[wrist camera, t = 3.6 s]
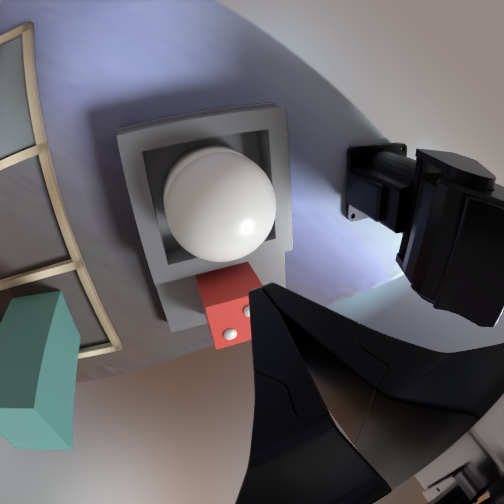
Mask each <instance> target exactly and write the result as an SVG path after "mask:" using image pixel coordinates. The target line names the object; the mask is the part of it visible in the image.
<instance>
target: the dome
mask: <svg viewBox="0 0 504 504" xmlns="http://www.w3.org/2000/svg"><path fill="white" fill-rule="evenodd" d="M162 196H163V203H164V208H165V214H166V219H167V223H168V226H169V228H170V230H171V233H172V235H173V236H174V238H175V239H176V240H177V242H178V243H179V244H180V245H181V246H182V247H183V248H184V249H185V250H187V251H188V252H190V253H191V254H193V255H194V256H196V257H199V258H201V259H204V260H208V261H214V262H228V261H233V260H236V259H240V258H242V257H244V256H246V255H248V254H250V253H251V252H253V251H254V250H255V249H257V248H258V247H259V246H260V245H261V244H262V243H263V241H264V240H265V239H266V238H267V236H268V235H269V233H270V231H271V229H272V226H273V224H274V220H275V215H276V197H275V193H274V189H273V186H272V184H271V182H270V180H269V178H268V177H267V175H266V173H265V172H264V171H263V170H262V169H261V168H260V167H259V166H258V165H257V164H256V163H255V162H253V161H252V160H250V159H249V158H247V157H246V156H244V155H242V154H241V153H239V152H237V151H236V150H234V149H232V148H230V147H227V146H224V145H218V144H206V145H201V146H197V147H194V148H192V149H190V150H188V151H186V152H185V153H183V154H182V155H181V156H179V157H178V158H177V159H176V160H175V161H174V163H173V164H172V165H171V167H170V168H169V170H168V172H167V174H166V176H165V179H164V183H163V189H162Z"/></svg>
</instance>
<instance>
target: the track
mask: <svg viewBox="0 0 504 504" xmlns="http://www.w3.org/2000/svg"><path fill="white" fill-rule="evenodd" d="M34 144H36V146H33V147H30V148H28V149H26V150H23V151H21V152H18V153H16V154H14V155H11V156H9V157H7V158H4V157H6V156H8V155H10V154H13V153H15V152H17V151H20V150H22V149H24V148H27V147H29V146H32V145H34ZM38 154H39V158H40V162H41V166H42V170H43V174H44V178H45V181H46V185H47V188H48V192H49V195H50V199H51V202H52V205H53V208H54V211H55V214H56V217H57V220H58V223H59V226H60V229H61V232H62V235H63V237H64V240H65V243H66V245H67V248H68V251H69V253H70V256H71V258H72V259H70V260H66V261H63V262H59V263H56V264H52V265H49V266H45V267H42V268H38V269H35V270H32V271H28V272H25V273H22V274H18V275H15V276H12V277H8V278H5V279H2V280H0V291H1V290H4V289H8V288H11V287H14V286H18V285H21V284H25V283H28V282H32V281H35V280H39V279H43V278H46V277H50V276H53V275H57V274H61V273H64V272H68V271H72V270H75V269H76V270H77V273H78V275H79V278H80V280H81V282H82V284H83V287H84V289H85V291H86V293H87V295H88V298H89V300H90V302H91V304H92V306H93V308H94V310H95V312H96V314H97V316H98V318H99V320H100V322H101V324H102V326H103V328H104V330H105V332H106V334H107V336H108V338H109V340H110V341H111V342H109V343H105V344H100V345H96V346H91V347H86V348H81V349H79V353H78V359H79V358H84V357H89V356H94V355H99V354H104V353H109V352H114V351H118V350H122V344H121V342H120V340H119V339H118V337H117V335H116V333H115V331H114V329H113V327H112V325H111V323H110V321H109V318H108V316H107V314H106V312H105V310H104V308H103V306H102V304H101V301H100V299H99V297H98V295H97V292H96V290H95V288H94V285H93V283H92V281H91V278H90V276H89V274H88V271H87V269H86V266H85V264H84V261H83V259H82V256H81V253H80V251H79V248H78V245H77V243H76V240H75V237H74V234H73V231H72V228H71V226H70V223H69V220H68V217H67V213H66V210H65V207H64V204H63V201H62V197H61V194H60V190H59V187H58V183H57V180H56V176H55V172H54V168H53V164H52V160H51V156H50V152H49V147H48V143H47V138H46V133H45V128H44V123H43V117H42V111H41V105H40V99H39V92H38V84H37V75H36V66H35V53H34V35H33V23H32V22H28V23H26V24H23V25H21V26H19V27H17V28H15V29H13V30H11V31H9V32H7V33H5V34H3V35H1V36H0V159H1V158H4V159H2V160H0V170H1V169H4V168H6V167H8V166H11V165H13V164H15V163H18V162H20V161H22V160H25V159H27V158H30V157H32V156H35V155H38ZM0 324H1V321H0Z"/></svg>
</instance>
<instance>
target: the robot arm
mask: <svg viewBox="0 0 504 504" xmlns="http://www.w3.org/2000/svg"><path fill="white" fill-rule="evenodd" d="M401 148H402V150H401ZM354 150H355V153H354V155H353V151H354ZM406 155H407V146H406V145H405V144H403V143H385V144H370V145H357V146H350V147H349V149H348V152H347V183H346V218H347V219H348V220H349V221H357V220H361V219H365V218H369V217H370V218H371V219H373V220H374V221H376V222H380V223H381V224H383V225H384V226H386V227H387V228H389V229H390V230H392V231H393V232H395V233H401V234H403V236H402V241H401V245H400V249H399V253H397V256H396V262H397V263H398V265H399V266H400V268H401V269H402V271H403V272H404V274H405V275H406V277H407V278H408V280H409V282H410V283H411V287H412V289H413V290H414V291H415V292H417V294H418V295H419V296H420V297H421V298H423V299H424V300H426V301H428V302H430V303H432V304H433V307H434V308H435V309H440V310H446V311H450V312H453V313H456V314H459V315H460V316H462V317H464V318H466V319H468V320H470V321H471V322H473V323H475V324H477V325H478V326H481V327H494V326H495V325H496V324H497V322H498V320H499V318H500V316H501V314H502V312H504V187H503V186H500V185H498V184H496V183H495V180H496V177H495V175H493V174H492V173H491V172H490V171H489V170H487V169H486V168H485V167H483V166H482V165H481V164H480V163H479V162H478V161H476V160H474V159H471V158H468V157H465V156H462V155H459V154H456V153H452V152H444V151H435V150H426V149H416V157H417V158H416V160H413V159H411V158H408V157H406ZM352 214H353V215H352ZM351 215H352V216H351ZM248 296H249V311H250V326H251V340H252V354H253V369H254V386H255V405H254V420H253V429H252V440H251V449H250V456H249V462H248V468H247V472H246V475H245V477H244V480H243V483H242V486H241V489H240V492H239V494H238V497H237V500H236V503H235V504H372V503H374V502H376V501H377V500H379V499H381V498H382V497H384V496H385V495H387V494H388V493H390V492H391V491H392V490H393V489H395V488H396V487H398V486H399V485H401V484H402V483H404V482H405V481H407V480H408V479H410V478H411V477H412V476H414V475H415V477H416V478H417V479H418V481H419V482H420V483H421V485H422V486H423V488H424V489H425V491H424V492H423V495H424V496H425V498H426V499H427V501H428V502H429V503H427V504H475V503H476V502H477V501H478V498H479V497H480V496H482V495H483V494H485V493H486V492H487V493H488V495H489V496H490V497H489V498H488V499H486V500H484V501H482V502H481V503H479V504H504V343H502V344H498V345H493V346H488V347H483V348H478V349H472V350H466V351H461V352H455V353H443V352H437V351H433V350H430V349H426V348H423V347H420V346H417V345H414V344H411V343H408V342H405V341H402V340H399V339H396V338H393V337H391V336H388V335H385V334H382V333H380V332H378V331H375V330H373V329H371V328H369V327H367V326H364V325H362V324H358V322H356V321H353V320H351V319H349V318H347V317H345V316H343V315H341V314H339V313H337V312H335V311H332V310H330V309H328V308H326V307H324V306H322V305H320V304H318V303H316V302H314V301H311V300H309V299H307V298H305V297H303V296H301V295H299V294H297V293H295V292H293V291H291V290H289V289H286V288H284V287H282V286H280V285H278V284H276V283H274V282H271V283H268V284H266V285H263V286H262V287H261V288H260V287H258V288H255V289H253V290H250V291H249V292H248ZM328 410H329V411H330V413H331V414H332V416H333V417H334V418H335V420H336V421H337V422H338V424H339V425H340V427H341V428H342V429H343V431H344V432H345V433H346V435H347V436H348V438H349V439H350V440H351V442H352V443H353V444H354V445H355V447H356V449H357V450H358V451H359V452H358V451H357V450H356V449H355V448H354V446H353V445H352V444H351V443H350V442H349V441H348V440H347V439H346V437H345V436H344V435H343V434H342V433H341V432H340V431H339V429H338V428H337V426H336V425H335V423H334V421H333V419H332V417H331V415H330V413H329V411H328Z"/></svg>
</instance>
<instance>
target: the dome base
mask: <svg viewBox="0 0 504 504" xmlns="http://www.w3.org/2000/svg"><path fill="white" fill-rule="evenodd" d="M116 132H117V142H118V147H119V152H120V157H121V161H122V166H123V171H124V175H125V179H126V184H127V188H128V192H129V196H130V200H131V204H132V208H133V212H134V216H135V220H136V224H137V227H138V231H139V235H140V238H141V242H142V245H143V249H144V252H145V255H146V259H147V262H148V265H149V269H150V272H151V275H152V278H153V281H154V284H155V285H156V288H157V292H158V295H159V298H160V300H161V303H162V306H163V309H164V312H165V315H166V318H167V321H168V323H169V326H170V329H171V332H175V331H179V330H183V329H187V328H191V327H195V326H199V325H202V324H206V323H207V324H208V327H209V330H210V333H211V336H212V339H213V342H214V345H215V348H216V349H220V348H224V347H227V346H231V345H234V344H238V343H241V342H245V341H248V340H251V326H250V311H249V296H248V292H249V291H250V290H253V289H255V288H258V287H260V288H261V287H262V286H263V285H266V284H268V283H271V282H274V283H276V284H278V285H280V286H282V287H284V288H286V281H285V253H284V252H287V251H291V250H293V238H292V207H291V183H290V162H289V144H288V128H287V113H286V108H284V107H276V103H258V104H248V105H239V106H231V107H223V108H216V109H209V110H203V111H197V112H191V113H185V114H180V115H174V116H169V117H164V118H159V119H155V120H150V121H146V122H141V123H137V124H133V125H129V126H125V127H121V128H118V129H117V130H116ZM206 144H218V145H224V146H227V147H230V148H232V149H234V150H236V151H237V152H239V153H241V154H242V155H244V156H246V157H247V158H249V159H250V160H252V161H253V162H255V163H256V164H257V165H258V166H259V167H260V168H261V169H262V170H263V171H264V172H265V173H266V175H267V177H268V178H269V180H270V182H271V184H272V186H273V189H274V193H275V197H276V215H275V220H274V224H273V226H272V229H271V231H270V233H269V235H268V236H267V238H266V239H265V240H264V241H263V243H262V244H261V245H260V246H259V247H258V248H257V249H255V250H254V251H253V252H251V253H250V254H248V255H246V256H244V257H242V258H240V259H236V260H233V261H228V262H214V261H208V260H204V259H201V258H199V257H196V256H194V255H193V254H191V253H190V252H188V251H187V250H185V249H184V248H183V247H182V246H181V245H180V244H179V243H178V242H177V240H176V239H175V238H174V236H173V235H172V233H171V230H170V228H169V226H168V223H167V219H166V214H165V208H164V203H163V196H162V189H163V183H164V179H165V176H166V174H167V172H168V170H169V168H170V167H171V165H172V164H173V163H174V161H175V160H176V159H177V158H178V157H179V156H181V155H182V154H183V153H185V152H186V151H188V150H190V149H192V148H194V147H197V146H201V145H206Z"/></svg>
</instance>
